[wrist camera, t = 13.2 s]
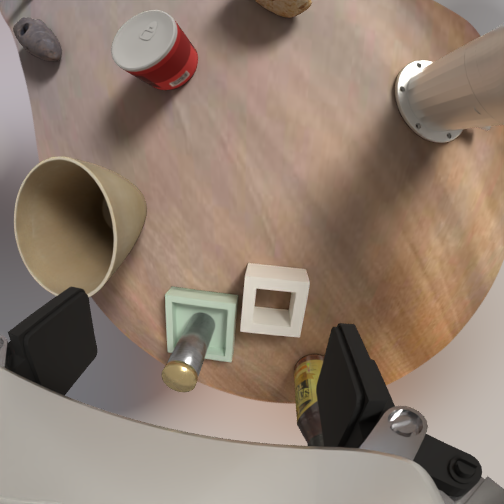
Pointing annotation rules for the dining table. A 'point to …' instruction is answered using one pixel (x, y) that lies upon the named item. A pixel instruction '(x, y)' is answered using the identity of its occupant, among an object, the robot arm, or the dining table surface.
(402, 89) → the robot arm
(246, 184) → the dining table surface
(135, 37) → the canned food
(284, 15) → the tan ring
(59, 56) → the perforated stone tool
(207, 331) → the pin
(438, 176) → the dining table surface
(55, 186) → the plant pot
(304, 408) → the sauce bottle
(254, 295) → the socket block
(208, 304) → the tray
